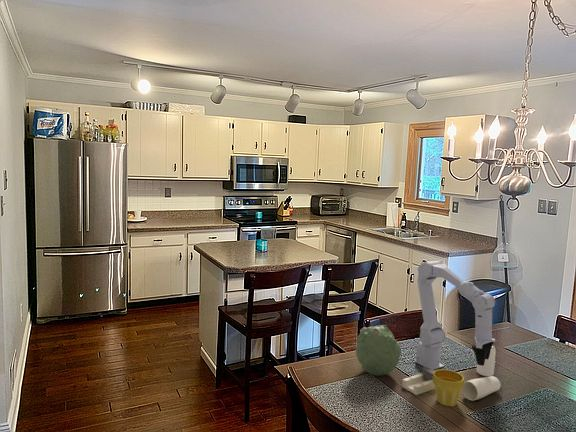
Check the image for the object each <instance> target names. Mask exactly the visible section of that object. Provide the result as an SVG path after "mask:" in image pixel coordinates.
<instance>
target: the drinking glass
mask: <svg viewBox="0 0 576 432" xmlns="http://www.w3.org/2000/svg"><path fill="white" fill-rule="evenodd" d="M501 387H502V386H501V381H500V380H499V379H498V377H496V376H494V375H493V376H489V377H486V376H483V377H479V378H478V377H477V378H471V379H469V380H466V381H464V387H463V389H462V390H461V391H462V393H463V395H464V397H465V398H466V399H467V400H468V401H472V402H473V401H476V400H481V399H483V398H485V397H487V396H489V395H491V394H492V393H495V392H498V391H500V389H501Z"/></svg>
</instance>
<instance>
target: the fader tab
mask: <svg viewBox="0 0 576 432" xmlns="http://www.w3.org/2000/svg"><path fill="white" fill-rule="evenodd" d="M420 369H421V370H420V371H421V372H420V373H421V374H423V375H424V379H423V380H425V381H428V380H431V379H433V373H434V371H435V369H434V370H432V369H430V368H428V367H424V366H423V367H421V368H420Z"/></svg>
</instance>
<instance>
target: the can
mask: <svg viewBox="0 0 576 432" xmlns="http://www.w3.org/2000/svg"><path fill="white" fill-rule="evenodd" d="M495 365H496V346H495V345H494V344H493V345H492V348H491V351H490V356H489V359H485V363H484V366H481V365H478V364H477V363H476V373H477V374H479V376H483V377H489V376H494V373H495V367H496V366H495Z"/></svg>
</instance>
